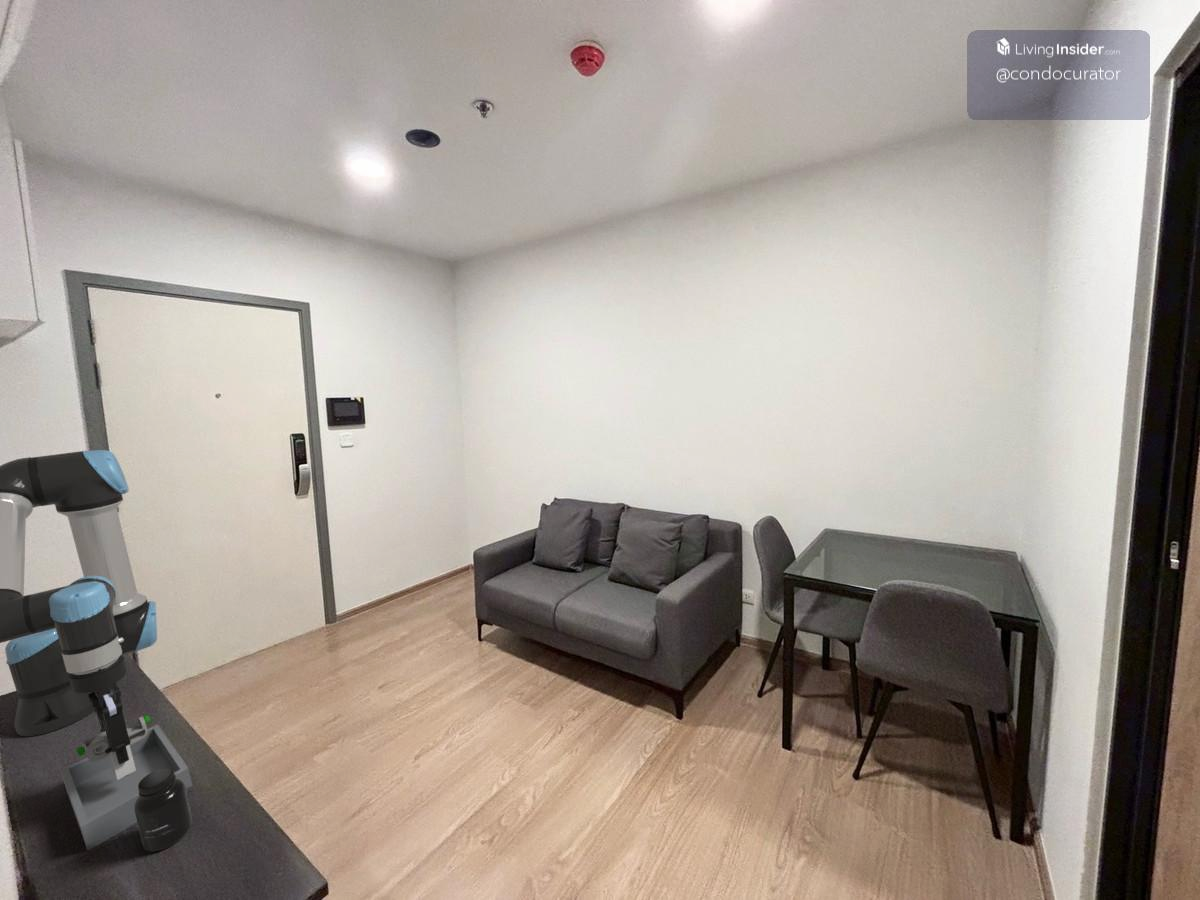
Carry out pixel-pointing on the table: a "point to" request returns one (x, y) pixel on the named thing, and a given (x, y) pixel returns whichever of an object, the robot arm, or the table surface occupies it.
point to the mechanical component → (99, 753)
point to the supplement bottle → (162, 810)
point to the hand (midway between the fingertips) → (124, 769)
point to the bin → (117, 787)
